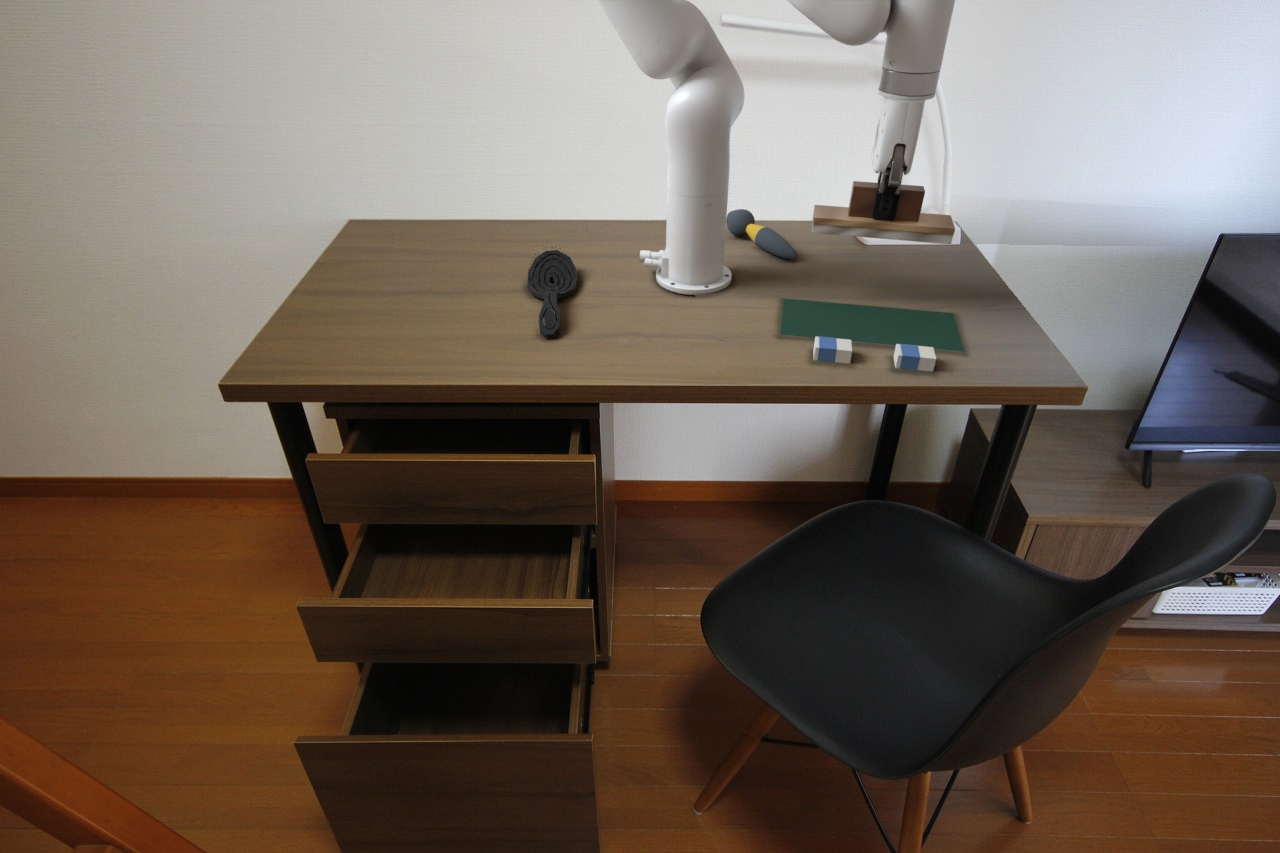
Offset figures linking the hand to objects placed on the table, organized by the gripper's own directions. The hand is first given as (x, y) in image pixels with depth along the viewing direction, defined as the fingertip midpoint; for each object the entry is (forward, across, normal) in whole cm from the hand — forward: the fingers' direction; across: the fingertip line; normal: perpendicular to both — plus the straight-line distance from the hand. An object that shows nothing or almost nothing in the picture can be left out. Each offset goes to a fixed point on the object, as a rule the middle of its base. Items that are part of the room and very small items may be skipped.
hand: (882, 214), depth 115 cm
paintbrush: (+15, -20, -18) cm, 31 cm away
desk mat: (+14, +8, 0) cm, 16 cm away
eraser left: (+14, +19, -5) cm, 24 cm away
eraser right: (+14, +19, +6) cm, 24 cm away
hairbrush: (+15, +10, -49) cm, 52 cm away
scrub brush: (+3, 0, 0) cm, 3 cm away
